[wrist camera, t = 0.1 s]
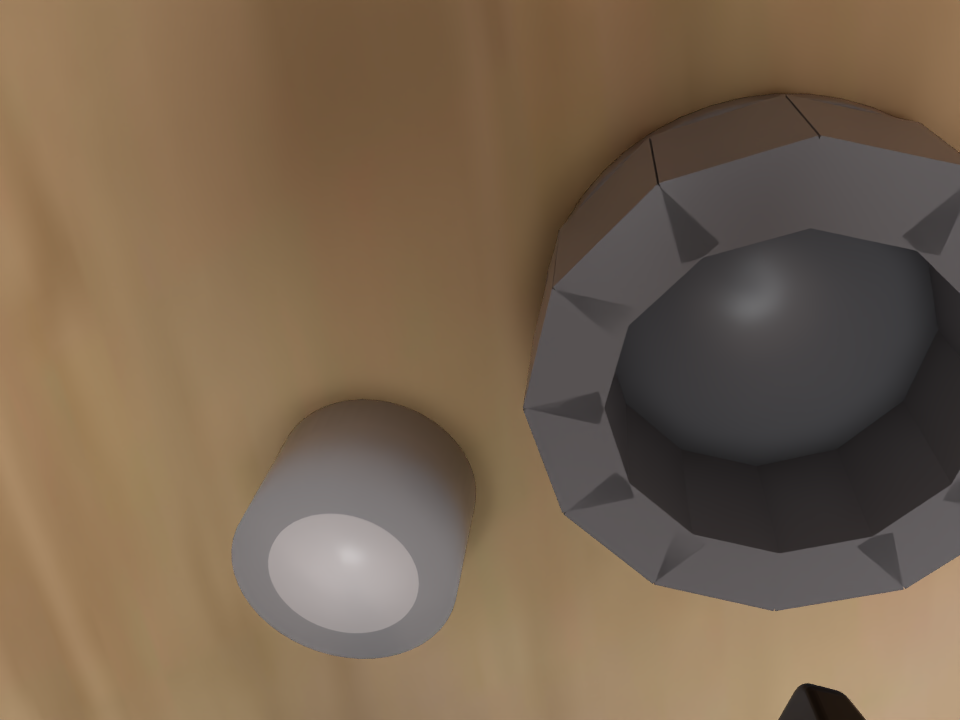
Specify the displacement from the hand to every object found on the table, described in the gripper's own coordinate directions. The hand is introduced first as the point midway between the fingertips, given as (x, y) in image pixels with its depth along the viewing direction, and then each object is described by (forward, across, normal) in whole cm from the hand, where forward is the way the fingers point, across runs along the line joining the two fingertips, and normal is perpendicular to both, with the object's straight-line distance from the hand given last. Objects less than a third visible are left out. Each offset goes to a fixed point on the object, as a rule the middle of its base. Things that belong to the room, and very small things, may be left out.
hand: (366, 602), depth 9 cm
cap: (+15, +2, +10) cm, 18 cm away
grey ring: (+14, -7, +2) cm, 16 cm away
